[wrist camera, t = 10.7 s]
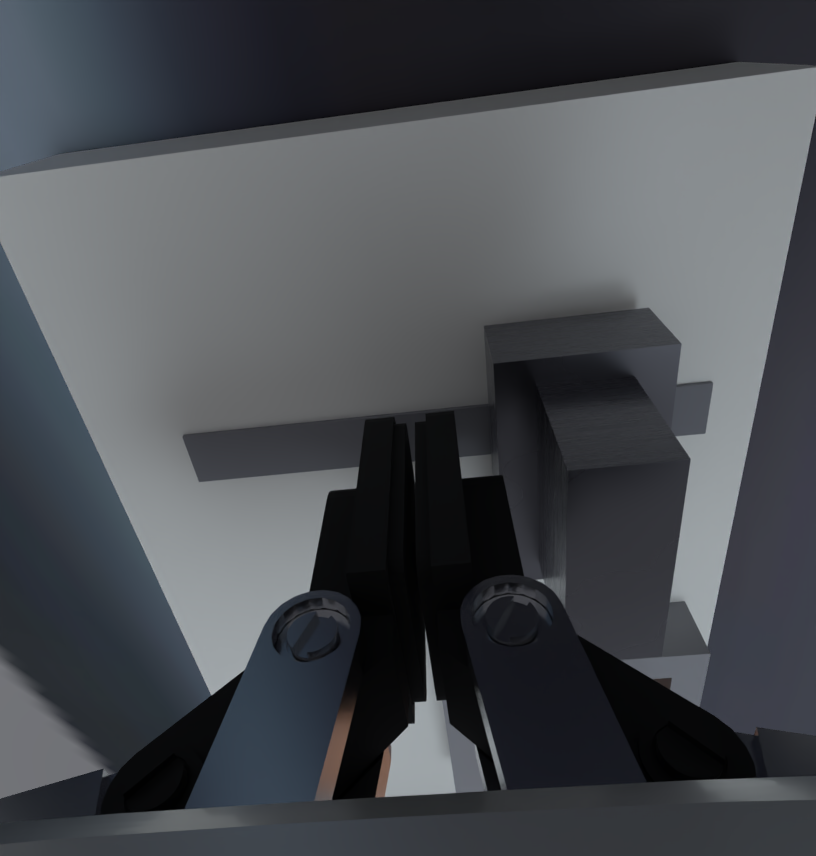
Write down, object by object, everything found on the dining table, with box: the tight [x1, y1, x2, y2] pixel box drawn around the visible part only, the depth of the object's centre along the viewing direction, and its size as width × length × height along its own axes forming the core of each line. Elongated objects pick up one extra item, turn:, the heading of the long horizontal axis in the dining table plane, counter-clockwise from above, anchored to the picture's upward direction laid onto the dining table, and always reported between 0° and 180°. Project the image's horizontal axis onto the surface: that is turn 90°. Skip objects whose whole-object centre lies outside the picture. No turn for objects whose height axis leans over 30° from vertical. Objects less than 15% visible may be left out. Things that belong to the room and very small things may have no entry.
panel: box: [0, 62, 816, 797], centre depth 18 cm, size 14×30×5 cm, turn 7°
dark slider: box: [484, 308, 691, 660], centre depth 11 cm, size 3×5×4 cm, turn 7°
